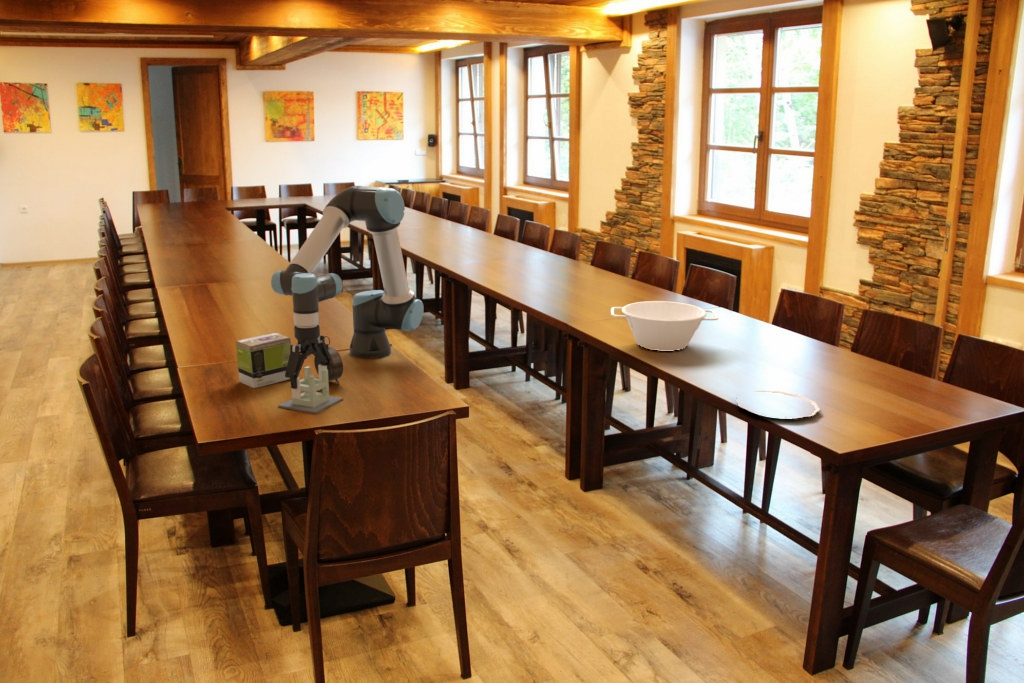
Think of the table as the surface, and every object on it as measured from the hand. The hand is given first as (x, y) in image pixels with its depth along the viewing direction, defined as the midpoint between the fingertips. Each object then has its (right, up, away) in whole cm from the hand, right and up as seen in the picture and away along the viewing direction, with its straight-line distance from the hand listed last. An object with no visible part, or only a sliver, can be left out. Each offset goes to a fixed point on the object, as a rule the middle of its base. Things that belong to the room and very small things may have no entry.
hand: (310, 391), depth 275 cm
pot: (+120, +14, +69) cm, 139 cm away
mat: (0, -4, +1) cm, 4 cm away
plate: (+145, -6, +1) cm, 145 cm away
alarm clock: (+1, +1, +21) cm, 21 cm away
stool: (0, -3, +1) cm, 3 cm away
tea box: (-20, +2, +22) cm, 30 cm away
